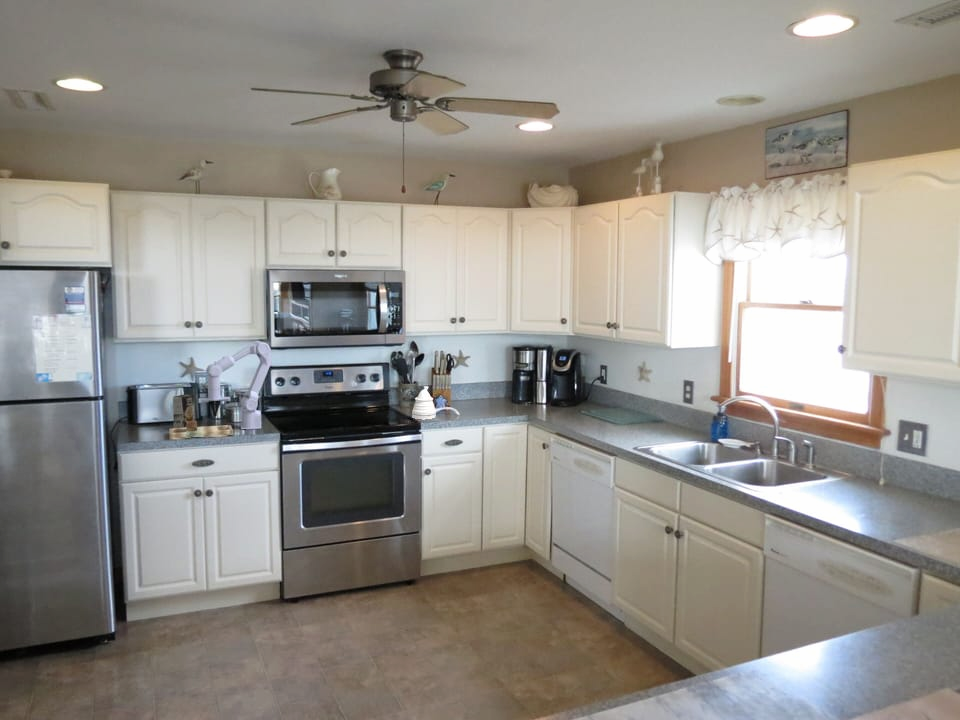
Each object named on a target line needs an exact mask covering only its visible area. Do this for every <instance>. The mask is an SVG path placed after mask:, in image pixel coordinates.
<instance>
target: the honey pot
mask: <svg viewBox="0 0 960 720" xmlns="http://www.w3.org/2000/svg"><path fill="white" fill-rule="evenodd" d="M423 388H424V389H422V390H421V391H419V393H418V395H417V397H414V400H415V401H414V404H413V409H412V410H411V419H412V418H415V419H422V420H425V419H432V418H435V417H436V416H437V410H436V408H435V404H434V402H433V400H434V398H433V397H432V396H431V394H430V393H429V391H428V389H429V386H426V385H425V386H423Z"/></svg>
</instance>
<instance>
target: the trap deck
mask: <svg viewBox="0 0 960 720" xmlns="http://www.w3.org/2000/svg"><path fill="white" fill-rule="evenodd" d="M168 433H169V441H170V440H172V441H173V440H185V439H184V438H190V439H192V438H191V437H206V438H221V437H229V436H228V435H233V436H234V430H233V428H232V425H231V424H225V425H224V424H223V425H209V426H206V425H205V426H197V431H187V428H174V427H173V428H169V431H168Z"/></svg>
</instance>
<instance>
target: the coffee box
mask: <svg viewBox="0 0 960 720" xmlns="http://www.w3.org/2000/svg"><path fill="white" fill-rule="evenodd" d="M172 401H173V402H172V404H173V405H172V410H173V413H172V416H173V428H187V425H186V421H196V420H195V394H179V395H175V396H172Z"/></svg>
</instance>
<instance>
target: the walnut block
mask: <svg viewBox="0 0 960 720" xmlns="http://www.w3.org/2000/svg"><path fill="white" fill-rule="evenodd" d="M186 425H187V431H197V427H198V421H197V420H195V421H186Z"/></svg>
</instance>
